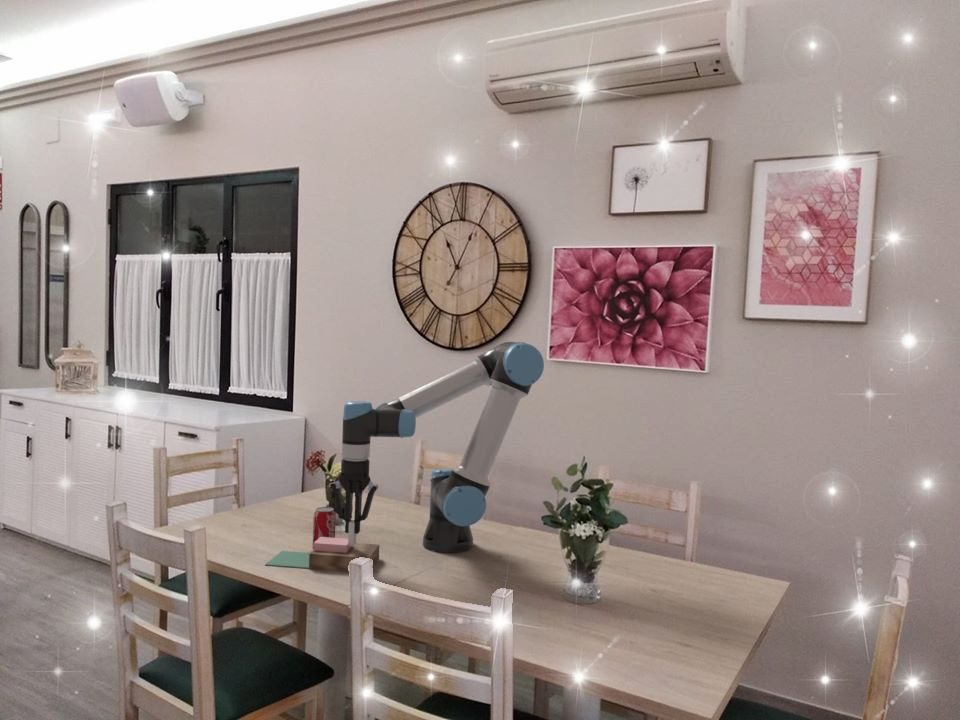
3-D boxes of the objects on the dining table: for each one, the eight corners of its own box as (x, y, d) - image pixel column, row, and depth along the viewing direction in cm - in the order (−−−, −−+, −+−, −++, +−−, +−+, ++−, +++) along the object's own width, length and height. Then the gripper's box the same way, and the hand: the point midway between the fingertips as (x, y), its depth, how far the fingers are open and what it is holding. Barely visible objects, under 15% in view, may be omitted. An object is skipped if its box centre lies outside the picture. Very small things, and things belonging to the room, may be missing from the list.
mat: (323, 554, 201) (323, 553, 201) (308, 568, 189) (308, 567, 189) (281, 551, 202) (282, 550, 202) (265, 565, 190) (265, 564, 190)
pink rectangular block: (352, 546, 197) (352, 538, 197) (346, 552, 191) (346, 545, 191) (320, 543, 198) (320, 536, 198) (313, 550, 192) (313, 542, 192)
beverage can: (322, 555, 201) (323, 513, 200) (307, 550, 204) (309, 508, 204) (339, 550, 206) (340, 509, 205) (324, 545, 209) (326, 505, 209)
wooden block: (379, 558, 199) (379, 544, 199) (368, 573, 188) (368, 557, 187) (323, 554, 201) (323, 540, 201) (308, 568, 189) (309, 553, 189)
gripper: (382, 457, 196) (378, 542, 197) (336, 454, 197) (332, 539, 198) (375, 462, 189) (372, 550, 189) (327, 459, 190) (324, 547, 191)
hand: (351, 544), depth 194 cm, fingers closed
